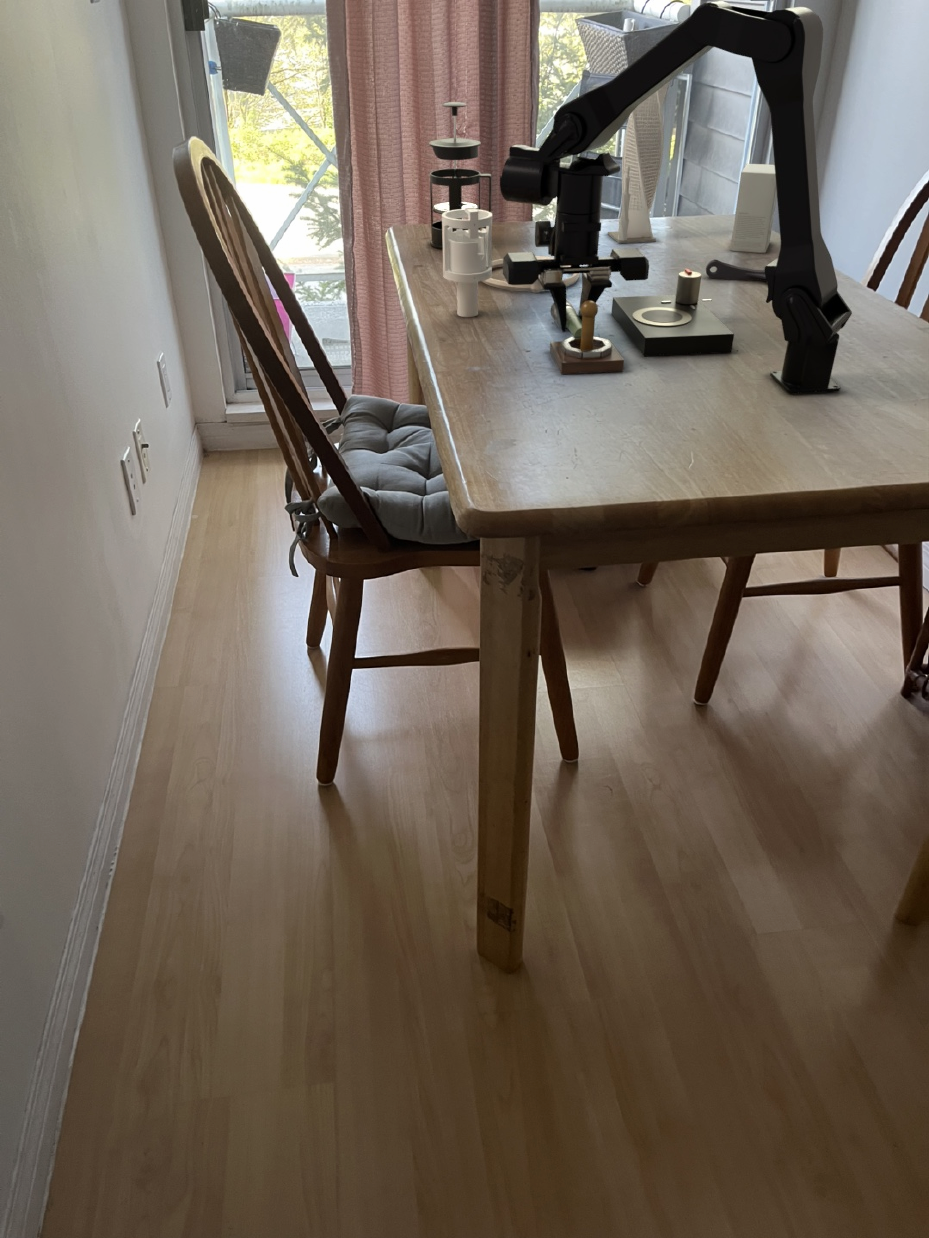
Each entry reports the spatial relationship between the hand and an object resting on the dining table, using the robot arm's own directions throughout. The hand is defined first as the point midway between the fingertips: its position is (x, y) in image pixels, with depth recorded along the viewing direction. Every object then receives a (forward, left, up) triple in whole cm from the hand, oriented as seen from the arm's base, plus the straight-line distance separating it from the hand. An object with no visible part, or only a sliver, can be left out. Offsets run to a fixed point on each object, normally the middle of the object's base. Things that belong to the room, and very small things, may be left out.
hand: (571, 330), depth 130 cm
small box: (+45, -42, -1) cm, 61 cm away
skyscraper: (+55, -23, -1) cm, 59 cm away
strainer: (+13, +13, -1) cm, 18 cm away
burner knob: (+6, -18, +2) cm, 19 cm away
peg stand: (-9, 0, -1) cm, 10 cm away
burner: (0, -12, +2) cm, 13 cm away
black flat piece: (+25, -35, -1) cm, 43 cm away
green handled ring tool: (-2, 0, -1) cm, 2 cm away
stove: (+1, -14, -1) cm, 14 cm away
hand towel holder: (+29, +1, -1) cm, 29 cm away
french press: (+54, +10, -1) cm, 54 cm away
